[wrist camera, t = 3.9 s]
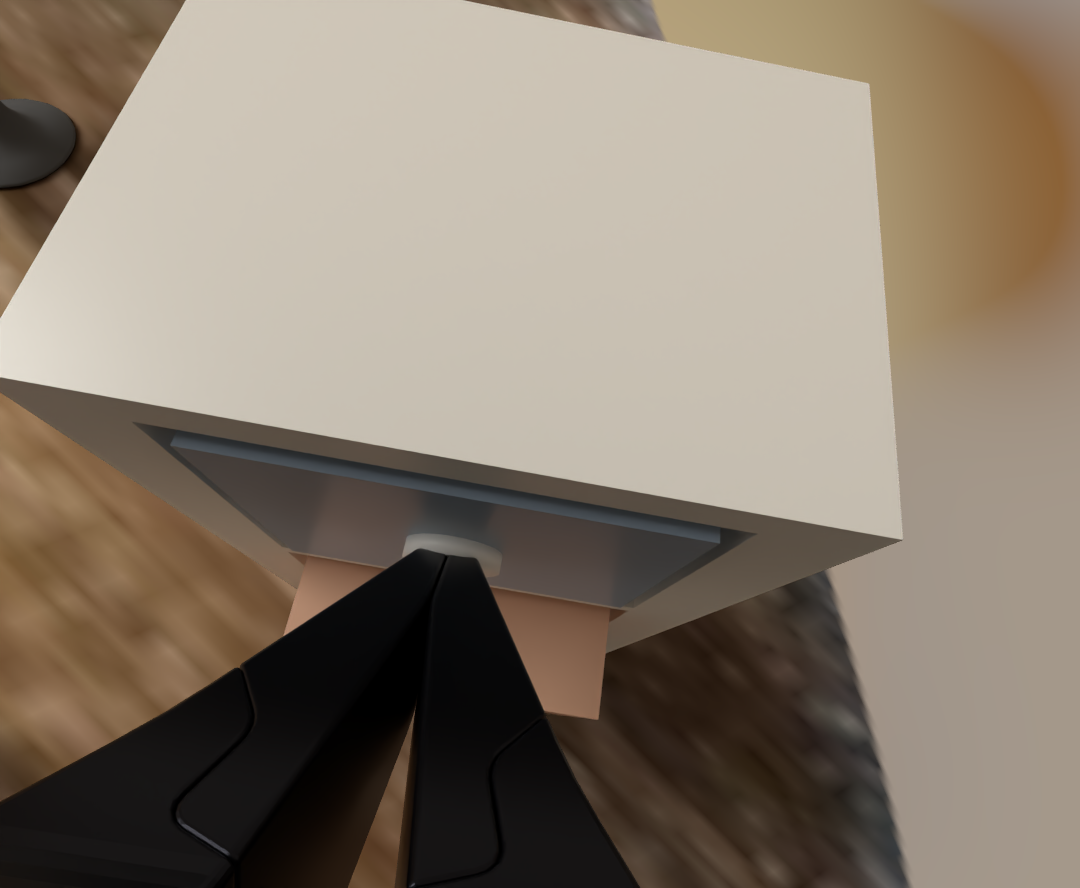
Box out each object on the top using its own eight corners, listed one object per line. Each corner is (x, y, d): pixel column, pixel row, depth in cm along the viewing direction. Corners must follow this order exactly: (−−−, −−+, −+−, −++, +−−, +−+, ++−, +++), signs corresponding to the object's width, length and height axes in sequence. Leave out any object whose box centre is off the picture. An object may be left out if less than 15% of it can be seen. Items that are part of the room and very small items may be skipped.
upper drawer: (619, 622, 11) (718, 566, 7) (287, 564, 11) (160, 466, 7) (633, 479, 12) (728, 349, 8) (331, 425, 12) (248, 258, 8)
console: (596, 656, 21) (903, 539, 6) (330, 611, 21) (-31, 371, 6) (616, 477, 24) (869, 83, 9) (379, 434, 24) (215, -51, 8)
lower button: (561, 726, 16) (596, 734, 12) (327, 687, 16) (270, 680, 11) (575, 616, 17) (612, 585, 13) (356, 579, 17) (314, 533, 12)
